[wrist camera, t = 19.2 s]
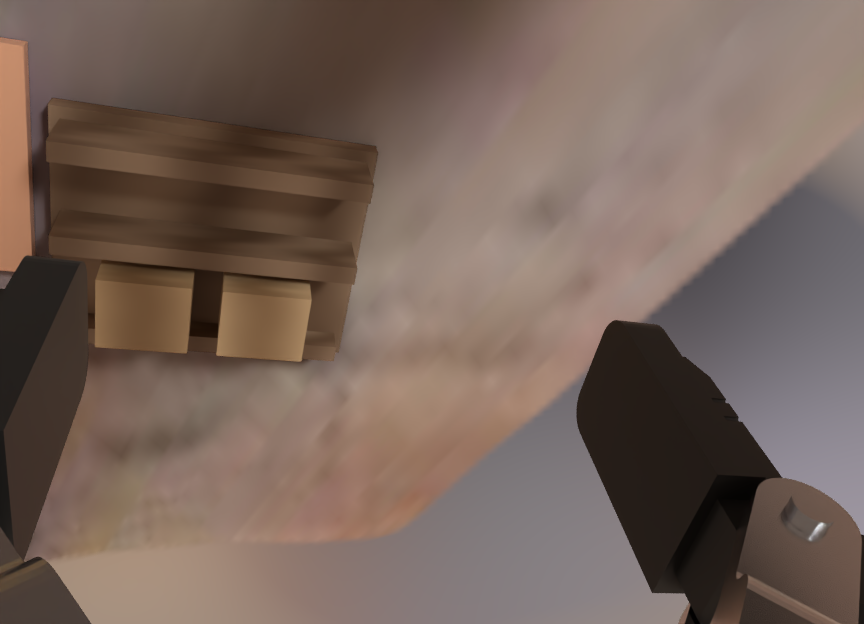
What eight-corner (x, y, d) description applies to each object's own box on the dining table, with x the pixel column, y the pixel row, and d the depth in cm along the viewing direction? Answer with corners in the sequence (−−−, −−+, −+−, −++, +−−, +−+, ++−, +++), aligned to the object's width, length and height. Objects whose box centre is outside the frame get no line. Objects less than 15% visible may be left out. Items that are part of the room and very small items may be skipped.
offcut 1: (196, 251, 42) (192, 288, 39) (191, 312, 44) (186, 353, 41) (108, 241, 41) (95, 280, 38) (107, 305, 43) (94, 347, 40)
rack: (375, 146, 42) (386, 175, 39) (337, 343, 49) (343, 382, 45) (52, 97, 38) (32, 126, 34) (57, 321, 44) (41, 363, 41)
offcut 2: (307, 262, 44) (311, 299, 41) (297, 321, 46) (301, 361, 43) (225, 254, 43) (222, 291, 40) (219, 314, 45) (216, 355, 42)
